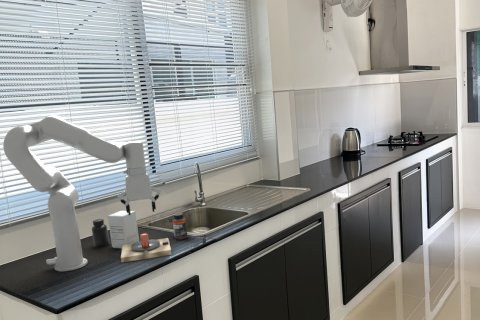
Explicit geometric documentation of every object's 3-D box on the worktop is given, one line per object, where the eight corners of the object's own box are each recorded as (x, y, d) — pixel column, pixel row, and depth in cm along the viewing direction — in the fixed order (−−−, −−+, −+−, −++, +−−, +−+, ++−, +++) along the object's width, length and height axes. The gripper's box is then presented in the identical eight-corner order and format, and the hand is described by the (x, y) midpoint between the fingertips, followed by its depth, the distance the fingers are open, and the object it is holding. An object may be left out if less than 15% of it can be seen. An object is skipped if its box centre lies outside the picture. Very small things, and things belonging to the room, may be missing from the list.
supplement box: (124, 241, 209) (120, 210, 207) (140, 242, 205) (136, 210, 203) (111, 247, 201) (106, 215, 199) (126, 249, 197) (122, 216, 195)
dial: (131, 244, 194) (129, 229, 193) (159, 240, 197) (157, 225, 196) (131, 253, 182) (129, 237, 181) (160, 248, 184) (158, 233, 184)
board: (121, 262, 179) (120, 256, 179) (123, 249, 197) (122, 243, 196) (171, 254, 183) (170, 248, 183) (168, 242, 201) (168, 236, 200)
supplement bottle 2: (181, 235, 210) (178, 211, 209) (190, 236, 206) (187, 212, 205) (172, 239, 205) (169, 215, 204) (180, 240, 202) (178, 216, 200)
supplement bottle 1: (103, 242, 211) (99, 217, 209) (112, 243, 207) (109, 218, 205) (90, 246, 205) (87, 221, 204) (100, 248, 201) (96, 222, 200)
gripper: (114, 175, 175) (119, 217, 177) (158, 170, 179) (163, 211, 181) (115, 173, 183) (120, 213, 185) (157, 168, 186) (162, 208, 188)
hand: (141, 212), depth 183 cm, fingers open, 9 cm apart
